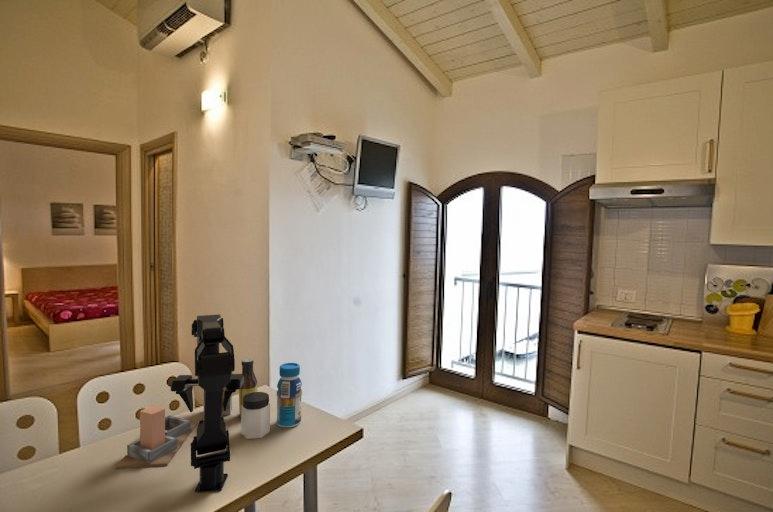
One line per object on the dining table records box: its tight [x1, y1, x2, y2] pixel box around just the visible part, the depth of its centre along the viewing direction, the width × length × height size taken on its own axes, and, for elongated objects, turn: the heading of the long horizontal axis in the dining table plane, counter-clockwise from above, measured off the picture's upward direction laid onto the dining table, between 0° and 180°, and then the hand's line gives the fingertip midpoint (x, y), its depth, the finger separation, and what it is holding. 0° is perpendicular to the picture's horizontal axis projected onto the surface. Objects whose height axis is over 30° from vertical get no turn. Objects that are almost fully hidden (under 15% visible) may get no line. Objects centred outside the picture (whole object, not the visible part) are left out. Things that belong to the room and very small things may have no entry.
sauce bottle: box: [238, 358, 258, 417], centre depth 139 cm, size 6×6×20 cm
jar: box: [240, 391, 271, 440], centre depth 127 cm, size 9×8×12 cm
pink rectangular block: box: [139, 405, 166, 450], centre depth 113 cm, size 5×4×12 cm
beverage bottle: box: [276, 362, 303, 429], centre depth 134 cm, size 8×8×20 cm
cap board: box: [115, 415, 198, 469], centre depth 119 cm, size 24×13×4 cm, turn 8°
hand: (208, 411), depth 113 cm, fingers open, 9 cm apart
